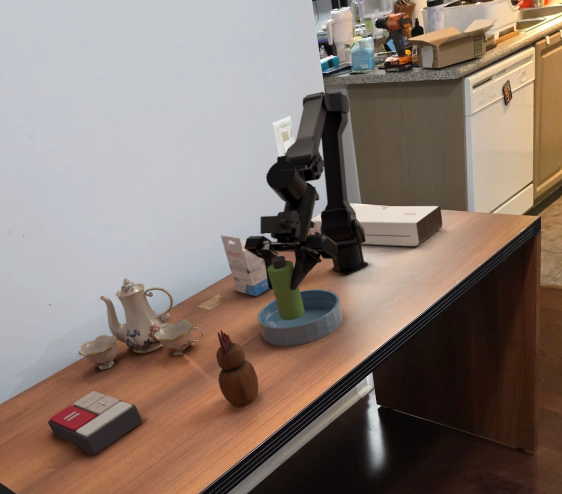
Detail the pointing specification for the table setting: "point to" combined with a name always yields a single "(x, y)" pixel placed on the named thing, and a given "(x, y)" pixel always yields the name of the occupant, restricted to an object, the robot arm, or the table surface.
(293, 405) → the table surface
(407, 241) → the laminator
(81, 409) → the calculator
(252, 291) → the ink box
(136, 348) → the chinaware
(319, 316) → the basin
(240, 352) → the wooden figurine
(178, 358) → the table surface
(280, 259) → the green bottle
